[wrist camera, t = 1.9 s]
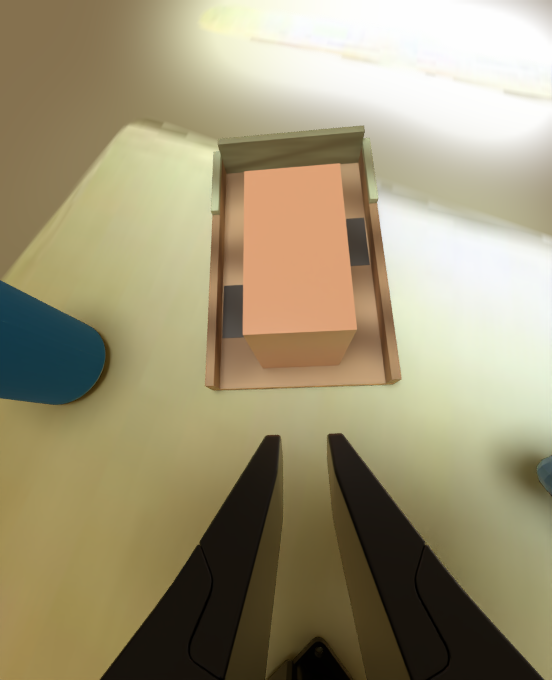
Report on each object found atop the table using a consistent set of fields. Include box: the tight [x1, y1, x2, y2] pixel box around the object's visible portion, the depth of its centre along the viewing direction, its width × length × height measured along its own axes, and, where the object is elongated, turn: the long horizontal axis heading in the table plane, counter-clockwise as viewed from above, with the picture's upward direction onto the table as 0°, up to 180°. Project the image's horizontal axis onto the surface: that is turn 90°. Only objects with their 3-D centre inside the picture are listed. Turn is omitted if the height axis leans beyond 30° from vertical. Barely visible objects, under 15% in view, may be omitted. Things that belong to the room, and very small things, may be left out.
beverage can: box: [0, 280, 106, 405], centre depth 19 cm, size 6×6×12 cm
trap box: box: [205, 126, 401, 390], centre depth 24 cm, size 20×13×4 cm, turn 1°
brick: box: [243, 163, 357, 368], centre depth 20 cm, size 10×6×8 cm, turn 1°
